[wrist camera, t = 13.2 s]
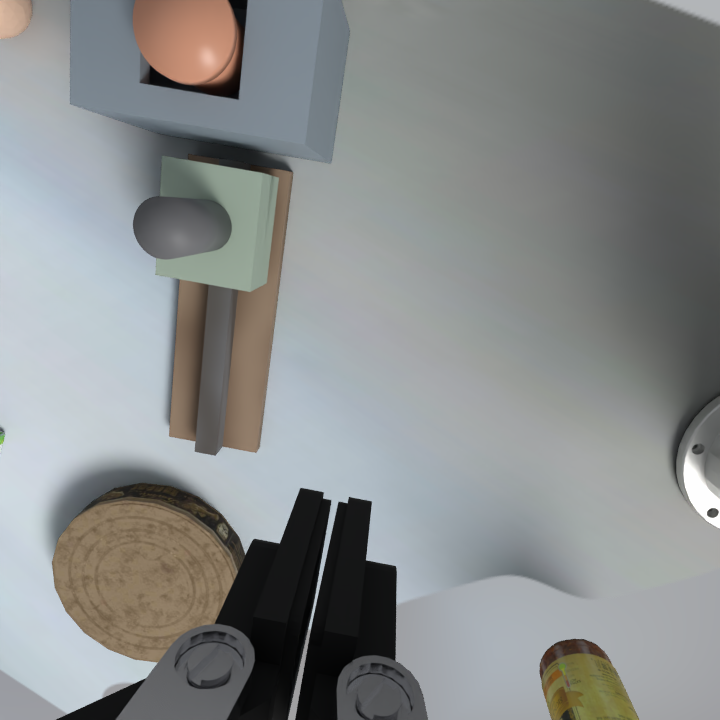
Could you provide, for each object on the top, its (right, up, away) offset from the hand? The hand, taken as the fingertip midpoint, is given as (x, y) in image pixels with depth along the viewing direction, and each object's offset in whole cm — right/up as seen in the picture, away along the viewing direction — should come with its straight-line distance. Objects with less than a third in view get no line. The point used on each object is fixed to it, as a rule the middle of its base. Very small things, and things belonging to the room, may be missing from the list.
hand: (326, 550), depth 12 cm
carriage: (-8, +13, +23) cm, 28 cm away
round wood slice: (-17, -13, +34) cm, 40 cm away
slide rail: (-9, +8, +27) cm, 29 cm away
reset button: (-7, +21, +15) cm, 26 cm away
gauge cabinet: (-6, +23, +22) cm, 32 cm away
